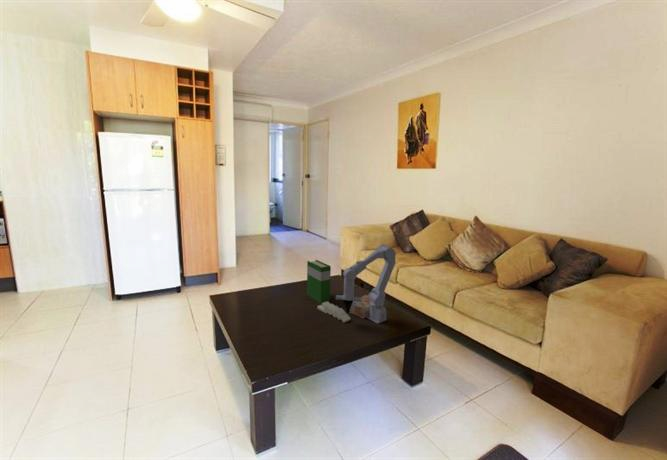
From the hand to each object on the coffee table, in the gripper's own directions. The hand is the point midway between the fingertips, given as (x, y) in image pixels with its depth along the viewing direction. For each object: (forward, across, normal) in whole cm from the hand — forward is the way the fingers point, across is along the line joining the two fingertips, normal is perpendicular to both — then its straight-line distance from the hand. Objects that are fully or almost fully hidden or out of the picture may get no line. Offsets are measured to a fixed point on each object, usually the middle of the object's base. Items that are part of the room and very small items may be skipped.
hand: (348, 312), depth 181 cm
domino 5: (+5, 0, 0) cm, 5 cm away
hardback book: (+6, +26, -30) cm, 41 cm away
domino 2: (+5, +10, -8) cm, 14 cm away
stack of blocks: (+3, -2, -22) cm, 22 cm away
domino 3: (+5, +7, -5) cm, 10 cm away
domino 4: (+5, +4, -3) cm, 7 cm away
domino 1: (+5, +13, -10) cm, 17 cm away
